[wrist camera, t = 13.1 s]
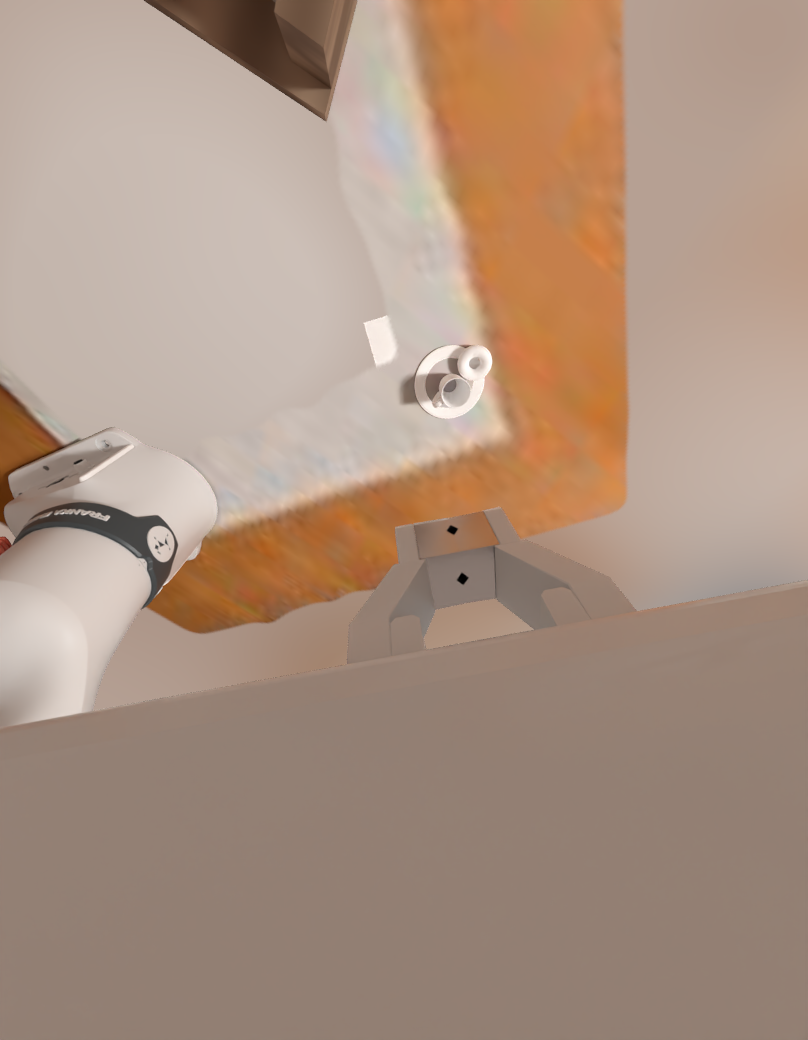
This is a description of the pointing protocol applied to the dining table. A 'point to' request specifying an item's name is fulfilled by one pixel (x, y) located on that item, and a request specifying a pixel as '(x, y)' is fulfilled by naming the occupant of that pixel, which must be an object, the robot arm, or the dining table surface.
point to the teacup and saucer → (467, 366)
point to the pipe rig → (275, 40)
